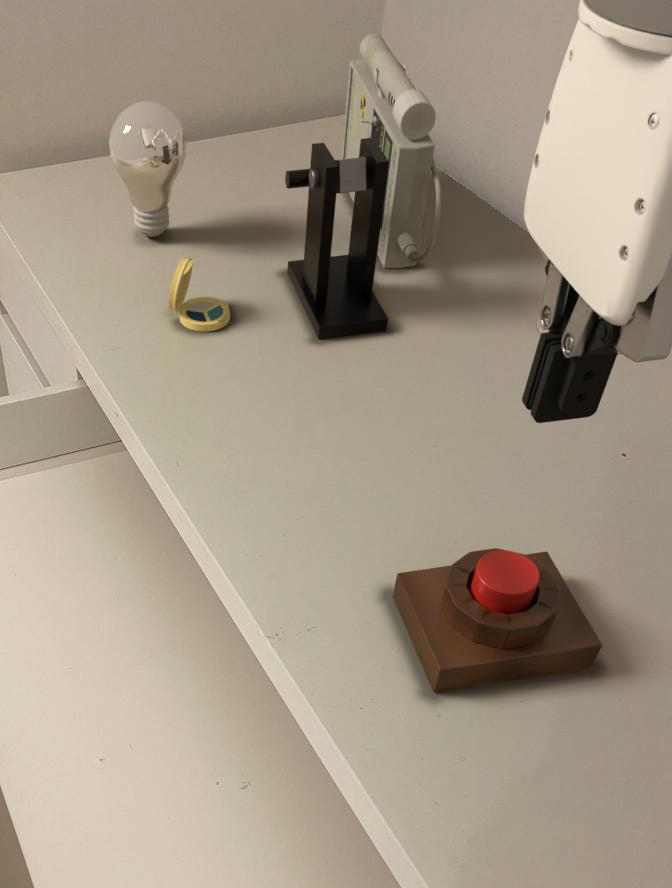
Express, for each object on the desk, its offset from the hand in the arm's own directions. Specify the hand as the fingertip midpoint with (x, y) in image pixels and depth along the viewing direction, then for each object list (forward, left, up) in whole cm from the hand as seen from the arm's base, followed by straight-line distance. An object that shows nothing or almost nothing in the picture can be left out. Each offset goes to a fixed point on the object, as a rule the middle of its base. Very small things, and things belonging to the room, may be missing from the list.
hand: (557, 409), depth 48 cm
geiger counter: (-10, -51, -17) cm, 54 cm away
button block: (0, 0, -17) cm, 17 cm away
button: (0, 0, -13) cm, 13 cm away
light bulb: (+13, -54, -17) cm, 58 cm away
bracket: (-1, -39, -17) cm, 43 cm away
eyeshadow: (+11, -39, -17) cm, 44 cm away
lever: (-1, -43, -9) cm, 44 cm away
